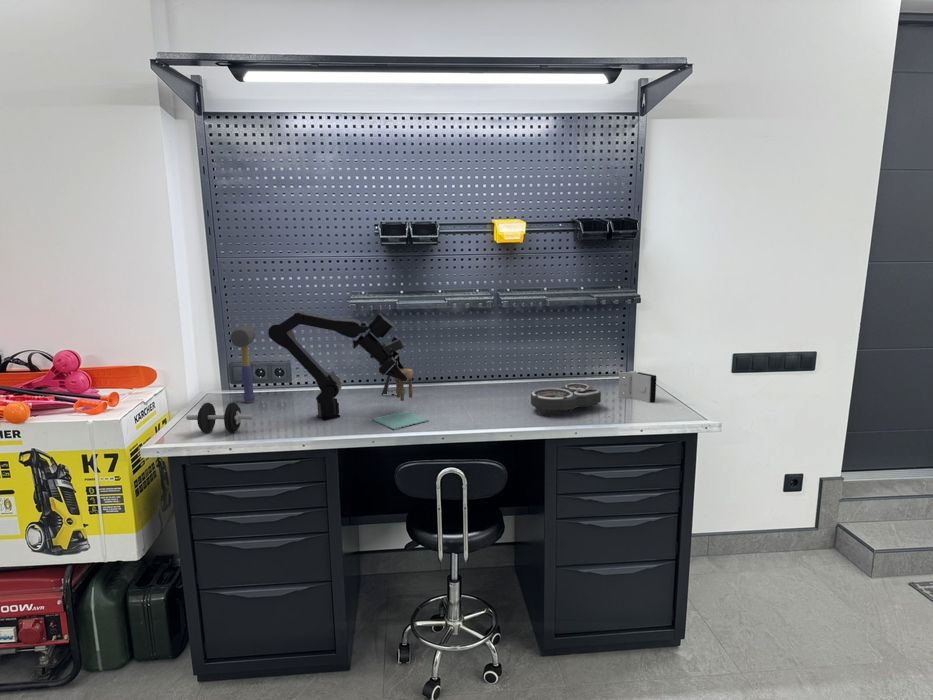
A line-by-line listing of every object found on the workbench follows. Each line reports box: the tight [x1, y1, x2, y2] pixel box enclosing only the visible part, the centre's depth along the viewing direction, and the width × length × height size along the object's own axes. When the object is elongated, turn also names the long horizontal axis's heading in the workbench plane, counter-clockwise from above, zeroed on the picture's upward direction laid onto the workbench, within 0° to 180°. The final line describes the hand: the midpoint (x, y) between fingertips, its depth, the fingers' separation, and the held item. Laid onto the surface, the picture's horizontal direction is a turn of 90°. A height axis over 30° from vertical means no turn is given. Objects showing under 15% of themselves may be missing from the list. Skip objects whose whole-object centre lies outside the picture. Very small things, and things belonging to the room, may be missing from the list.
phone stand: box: [381, 375, 406, 396], centre depth 230 cm, size 9×6×12 cm, turn 91°
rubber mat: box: [372, 410, 430, 430], centre depth 195 cm, size 14×14×1 cm
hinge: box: [617, 370, 657, 404], centre depth 216 cm, size 14×5×10 cm, turn 51°
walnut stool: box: [393, 368, 414, 401], centre depth 200 cm, size 7×7×10 cm
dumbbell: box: [185, 401, 254, 434], centre depth 186 cm, size 22×10×10 cm, turn 88°
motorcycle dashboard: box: [530, 382, 602, 417], centre depth 204 cm, size 26×16×7 cm, turn 121°
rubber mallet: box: [230, 324, 257, 404], centre depth 219 cm, size 12×8×30 cm, turn 8°
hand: (407, 377), depth 200 cm, fingers closed on walnut stool, 7 cm apart
